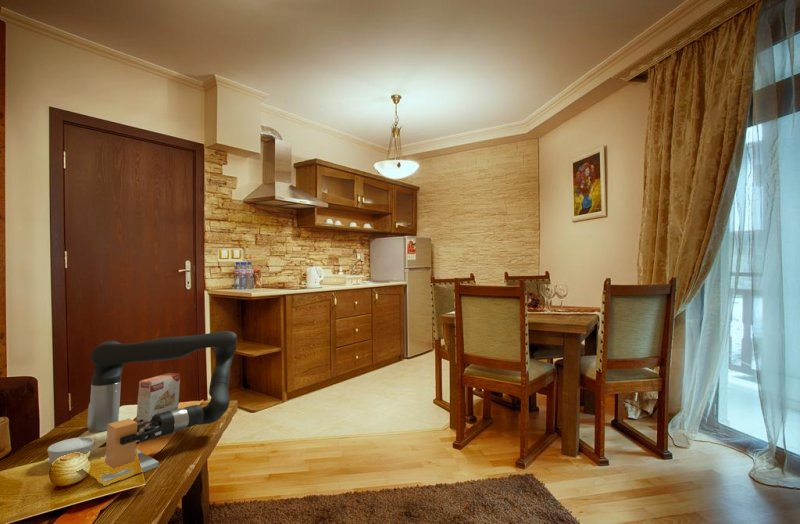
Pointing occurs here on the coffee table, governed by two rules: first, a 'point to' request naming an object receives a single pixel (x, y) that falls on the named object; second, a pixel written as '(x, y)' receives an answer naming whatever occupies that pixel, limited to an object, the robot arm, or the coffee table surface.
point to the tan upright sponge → (116, 451)
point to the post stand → (145, 463)
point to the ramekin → (70, 447)
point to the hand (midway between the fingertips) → (114, 438)
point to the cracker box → (157, 395)
